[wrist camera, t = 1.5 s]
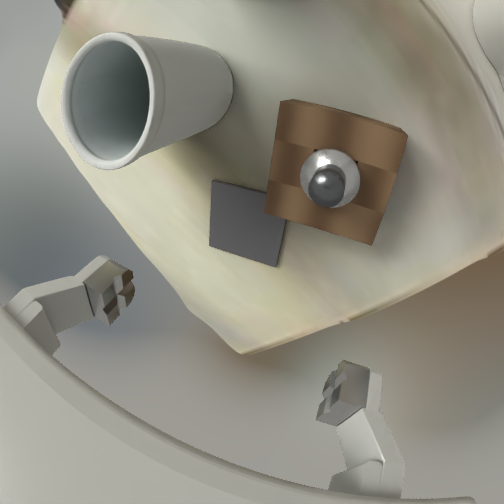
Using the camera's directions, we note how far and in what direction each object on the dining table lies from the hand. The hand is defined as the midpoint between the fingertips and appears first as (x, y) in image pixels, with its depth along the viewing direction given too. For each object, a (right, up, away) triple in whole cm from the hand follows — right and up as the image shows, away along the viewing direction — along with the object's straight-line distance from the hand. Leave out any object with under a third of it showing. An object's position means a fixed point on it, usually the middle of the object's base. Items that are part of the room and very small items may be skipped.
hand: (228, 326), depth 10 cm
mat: (0, +7, +35) cm, 36 cm away
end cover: (+11, +13, +24) cm, 29 cm away
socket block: (+12, +14, +25) cm, 31 cm away
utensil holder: (-8, +26, +26) cm, 38 cm away
